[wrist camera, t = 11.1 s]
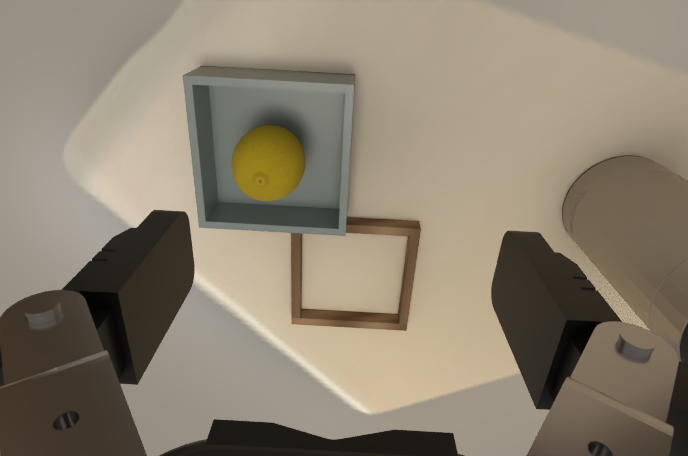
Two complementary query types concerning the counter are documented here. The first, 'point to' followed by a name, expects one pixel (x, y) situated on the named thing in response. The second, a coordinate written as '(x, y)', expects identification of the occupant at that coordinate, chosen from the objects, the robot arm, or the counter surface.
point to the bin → (281, 110)
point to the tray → (360, 318)
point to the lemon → (268, 163)
